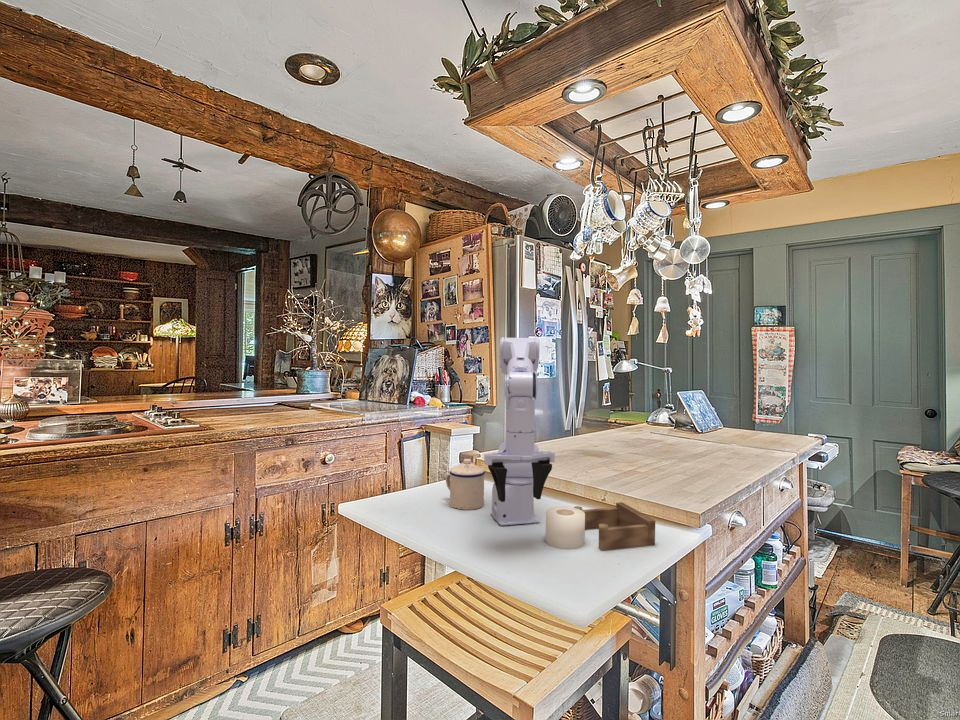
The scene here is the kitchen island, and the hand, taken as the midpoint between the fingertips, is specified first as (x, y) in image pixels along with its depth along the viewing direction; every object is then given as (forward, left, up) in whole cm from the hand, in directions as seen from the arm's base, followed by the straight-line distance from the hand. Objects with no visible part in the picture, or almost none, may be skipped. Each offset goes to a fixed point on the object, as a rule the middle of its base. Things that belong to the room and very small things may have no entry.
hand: (519, 499), depth 98 cm
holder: (+20, 0, -10) cm, 22 cm away
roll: (+10, 0, -10) cm, 14 cm away
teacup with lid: (-5, +29, -10) cm, 31 cm away
